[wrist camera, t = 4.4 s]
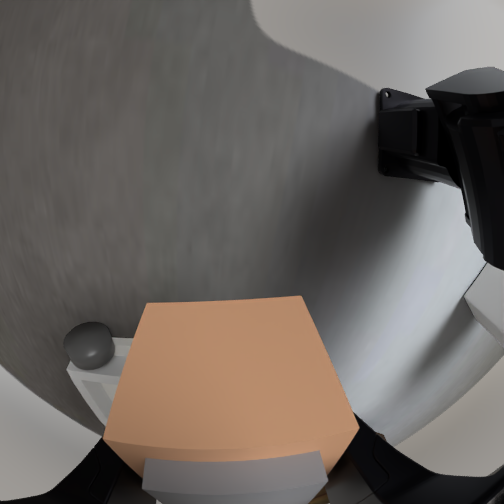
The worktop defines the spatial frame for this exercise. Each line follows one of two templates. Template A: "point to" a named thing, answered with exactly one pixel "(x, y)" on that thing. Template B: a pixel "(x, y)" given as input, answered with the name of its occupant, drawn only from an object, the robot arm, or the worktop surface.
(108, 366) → the chassis
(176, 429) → the tan box grey panel
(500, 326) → the milk carton
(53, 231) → the worktop surface
